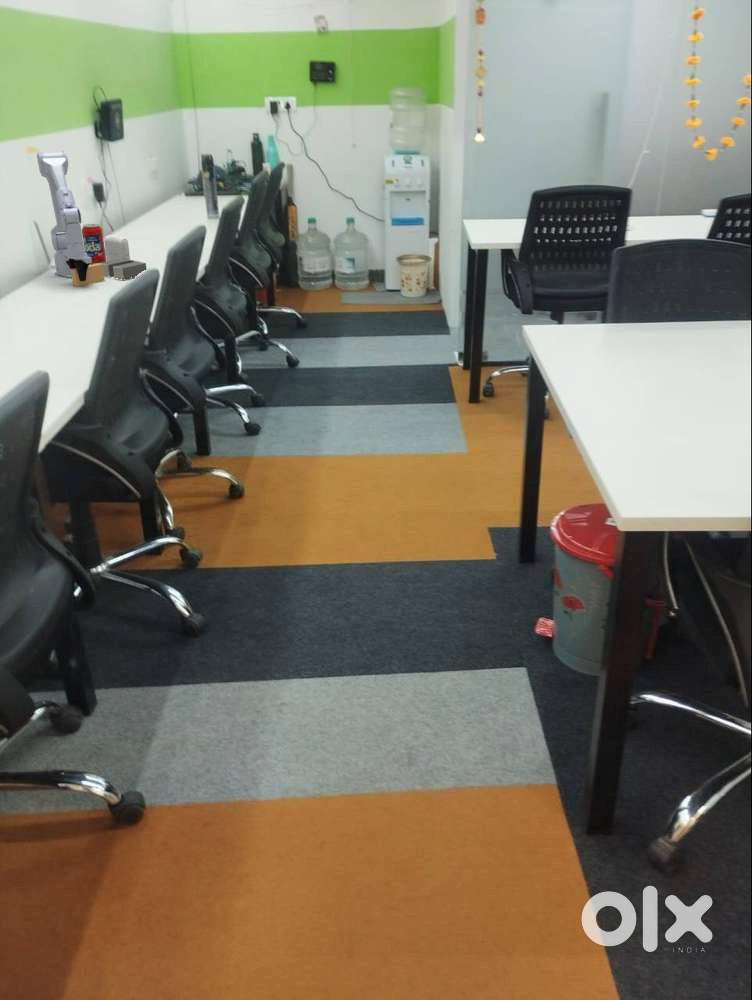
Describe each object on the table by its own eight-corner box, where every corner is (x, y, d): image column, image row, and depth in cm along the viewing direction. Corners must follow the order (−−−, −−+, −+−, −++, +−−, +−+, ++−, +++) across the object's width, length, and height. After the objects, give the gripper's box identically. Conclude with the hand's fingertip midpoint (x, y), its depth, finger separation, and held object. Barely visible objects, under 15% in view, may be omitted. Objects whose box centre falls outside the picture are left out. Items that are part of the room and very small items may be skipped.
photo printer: (132, 267, 336) (128, 235, 331) (125, 269, 333) (120, 237, 327) (113, 264, 341) (109, 232, 335) (106, 266, 338) (101, 234, 332)
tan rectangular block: (73, 285, 310) (70, 268, 307) (100, 279, 318) (98, 263, 315) (77, 286, 309) (74, 269, 306) (104, 280, 317) (102, 264, 314)
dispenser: (100, 275, 324) (99, 263, 322) (125, 269, 332) (123, 258, 330) (122, 280, 317) (121, 268, 315) (147, 275, 325) (145, 263, 323)
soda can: (109, 261, 345) (104, 223, 338) (102, 265, 338) (96, 227, 331) (91, 260, 346) (85, 223, 339) (83, 265, 339) (77, 226, 332)
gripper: (96, 243, 303) (101, 281, 309) (72, 238, 311) (78, 275, 317) (79, 246, 298) (85, 284, 304) (55, 241, 306) (61, 278, 312)
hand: (80, 280), depth 310 cm, fingers closed on tan rectangular block, 2 cm apart
